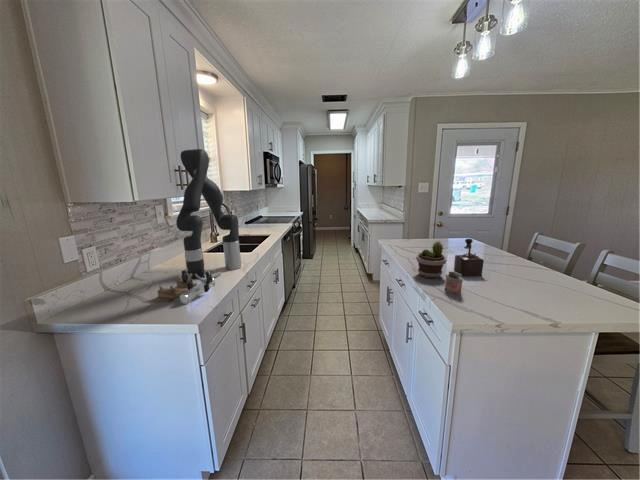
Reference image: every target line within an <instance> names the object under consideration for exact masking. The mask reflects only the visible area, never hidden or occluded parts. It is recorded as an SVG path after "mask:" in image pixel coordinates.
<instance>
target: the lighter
mask: <svg viewBox="0 0 640 480" xmlns="http://www.w3.org/2000/svg"><path fill="white" fill-rule="evenodd" d="M462 277H463V276H462V275H461V274H459V273H457V272H455V271H454V270H453V271H452V270H448V274H445V284H444V288H443V289H444V291H445V292H447V293H448V294H451V295H453V296H457V297H461V296H462V288H463V287H462V286H463V281H464V279H463V278H462Z"/></svg>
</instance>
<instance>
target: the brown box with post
mask: <svg viewBox="0 0 640 480" xmlns="http://www.w3.org/2000/svg"><path fill="white" fill-rule="evenodd" d="M464 241H465V243H466V245H465V246H464V247H463V248H464V249H466V250H468V253H467V252H466V253H464V254H456V255H455V256H454V262H453V263H454V265H453V272H454V271H455V272H456V273H459V274H461V275H462V276H461V277H463V278H466V277H467V278H469V277H470V278H471V277H482V276H483V268H484V262H485V260H484V259H483V258H481V257H479V255H477V254H476V253H474V254H473V253H472V252H471V250H472V243H473V241H474V240H473V239H472V238H466V239H465V240H464Z"/></svg>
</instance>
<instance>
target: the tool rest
mask: <svg viewBox="0 0 640 480" xmlns="http://www.w3.org/2000/svg"><path fill="white" fill-rule="evenodd" d="M188 277H189V275H188ZM191 283H192V284H193V287H195V286H196V285H198V283H197V282H196V283H195V282H194V280H192V282H191ZM158 288H159V289H158V290H157V295H158V296H157V297H155V298H153V300H154V302H166V303H170V302H172V301H174V300H176V299H177V298H178V297H179V298H180V295H182V294H183V293H185V292H186V291H188V286H187V284H186V283H183V281H182V275H178V276H177V280H176V286H175V287H174V286H173V285H170V286H169V288H167V287H166V288H165V287H164V286H163V285H162V284H160V285H159V286H158Z"/></svg>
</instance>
